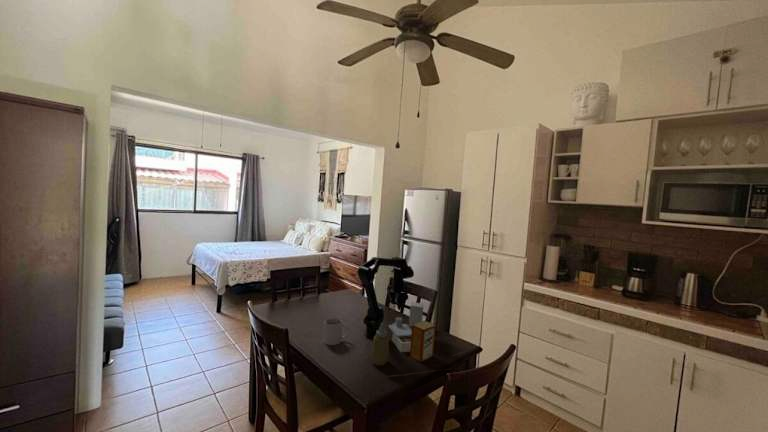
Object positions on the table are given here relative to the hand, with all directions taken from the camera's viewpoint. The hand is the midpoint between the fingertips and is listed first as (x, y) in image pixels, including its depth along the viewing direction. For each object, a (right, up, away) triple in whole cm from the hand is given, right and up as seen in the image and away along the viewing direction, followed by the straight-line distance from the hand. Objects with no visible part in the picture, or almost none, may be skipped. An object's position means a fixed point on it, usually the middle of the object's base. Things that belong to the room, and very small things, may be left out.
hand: (396, 306), depth 175 cm
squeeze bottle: (-9, -14, -38) cm, 41 cm away
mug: (-32, -12, -20) cm, 39 cm away
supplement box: (+12, -13, +7) cm, 19 cm away
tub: (+4, -14, -20) cm, 25 cm away
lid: (+2, -8, -13) cm, 16 cm away
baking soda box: (+11, -15, -30) cm, 35 cm away
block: (+4, -13, -18) cm, 23 cm away
